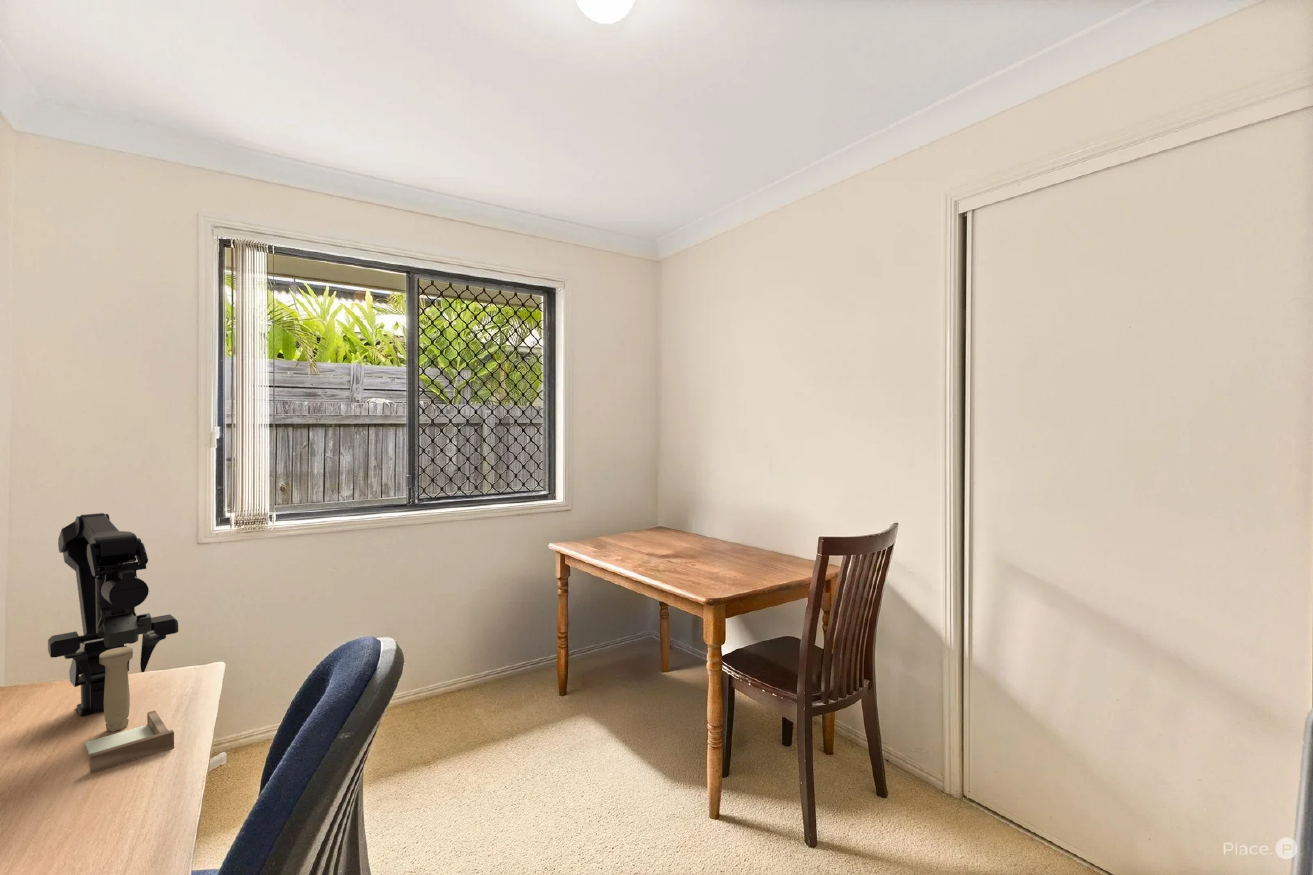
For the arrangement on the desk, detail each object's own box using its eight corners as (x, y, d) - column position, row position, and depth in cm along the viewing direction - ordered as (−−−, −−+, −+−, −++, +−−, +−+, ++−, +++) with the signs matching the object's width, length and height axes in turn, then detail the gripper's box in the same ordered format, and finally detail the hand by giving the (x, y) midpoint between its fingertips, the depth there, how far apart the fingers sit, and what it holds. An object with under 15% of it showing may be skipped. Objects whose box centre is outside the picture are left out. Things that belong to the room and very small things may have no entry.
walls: (81, 746, 114) (80, 730, 114) (159, 724, 122) (158, 709, 122) (90, 773, 105) (90, 756, 105) (174, 747, 114) (174, 731, 114)
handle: (98, 738, 117) (97, 660, 116) (102, 725, 122) (101, 650, 122) (131, 731, 120) (130, 654, 119) (134, 718, 125) (133, 645, 124)
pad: (85, 745, 114) (85, 741, 114) (147, 727, 121) (147, 724, 121) (94, 769, 106) (94, 766, 106) (160, 749, 113) (160, 745, 113)
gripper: (52, 619, 108) (54, 706, 108) (184, 596, 122) (185, 674, 122) (46, 606, 115) (48, 688, 116) (171, 586, 129) (172, 660, 130)
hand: (116, 677), depth 120 cm, fingers open, 8 cm apart
